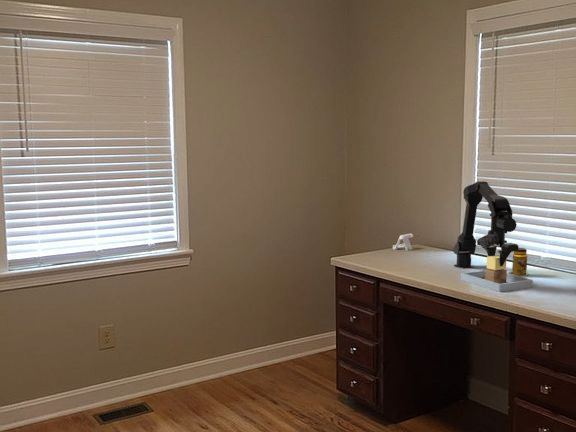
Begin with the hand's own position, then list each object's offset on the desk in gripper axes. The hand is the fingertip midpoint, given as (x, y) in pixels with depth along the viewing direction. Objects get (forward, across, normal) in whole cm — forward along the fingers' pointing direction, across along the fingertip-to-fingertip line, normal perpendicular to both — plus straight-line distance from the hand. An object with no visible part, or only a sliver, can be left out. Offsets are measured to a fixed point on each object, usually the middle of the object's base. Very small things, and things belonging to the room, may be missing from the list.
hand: (496, 264), depth 275 cm
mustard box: (+2, 0, 0) cm, 2 cm away
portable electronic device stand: (+8, -81, +11) cm, 82 cm away
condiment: (+8, -8, +20) cm, 23 cm away
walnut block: (+8, 0, 0) cm, 8 cm away
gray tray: (+8, 0, 0) cm, 8 cm away
